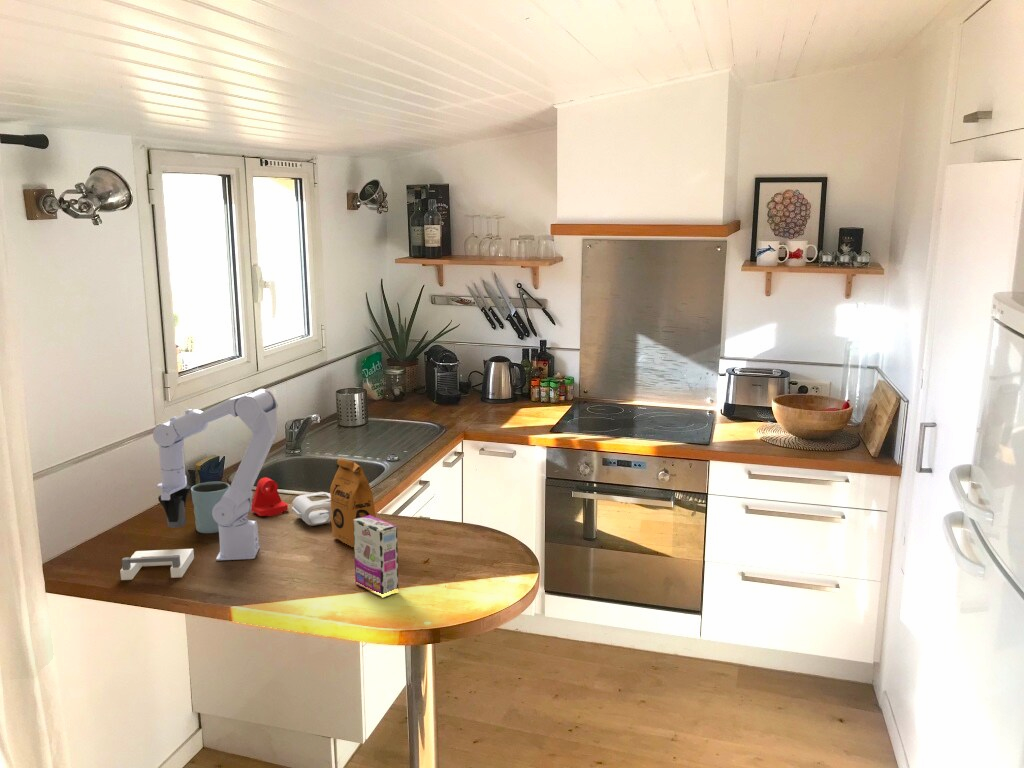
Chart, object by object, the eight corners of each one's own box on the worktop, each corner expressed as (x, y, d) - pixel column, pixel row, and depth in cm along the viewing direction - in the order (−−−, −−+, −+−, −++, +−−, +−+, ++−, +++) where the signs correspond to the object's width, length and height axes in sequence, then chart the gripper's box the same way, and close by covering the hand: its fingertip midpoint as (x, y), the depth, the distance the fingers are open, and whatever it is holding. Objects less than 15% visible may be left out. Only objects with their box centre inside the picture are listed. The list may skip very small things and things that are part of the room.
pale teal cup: (186, 531, 235) (182, 490, 232) (209, 519, 244) (207, 479, 242) (216, 535, 231) (213, 493, 229) (239, 523, 241) (237, 483, 239)
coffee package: (348, 552, 220) (345, 471, 216) (327, 538, 230) (324, 460, 226) (382, 543, 226) (379, 464, 222) (360, 530, 236) (358, 454, 232)
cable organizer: (344, 501, 240) (330, 490, 250) (302, 508, 234) (288, 496, 244) (345, 523, 241) (330, 511, 251) (302, 531, 235) (289, 518, 245)
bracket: (261, 518, 245) (259, 485, 243) (251, 513, 250) (249, 480, 248) (289, 511, 251) (287, 479, 249) (279, 506, 255) (277, 474, 253)
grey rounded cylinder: (188, 521, 222) (186, 499, 221) (182, 527, 218) (180, 505, 217) (170, 521, 222) (168, 499, 221) (165, 527, 217) (163, 505, 216)
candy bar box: (400, 592, 196) (398, 525, 193) (382, 599, 193) (380, 531, 190) (371, 578, 204) (369, 513, 201) (354, 584, 201) (352, 518, 198)
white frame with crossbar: (194, 557, 216) (192, 538, 215) (181, 577, 205) (180, 557, 204) (136, 560, 215) (135, 541, 214) (121, 580, 203) (119, 560, 202)
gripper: (165, 459, 224) (169, 509, 226) (146, 476, 209) (151, 528, 212) (193, 459, 224) (196, 508, 227) (175, 475, 210) (179, 527, 213)
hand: (176, 518), depth 219 cm, fingers closed on grey rounded cylinder, 4 cm apart
